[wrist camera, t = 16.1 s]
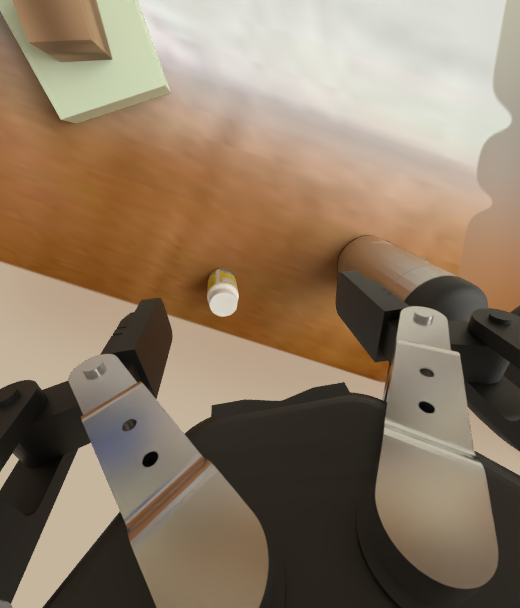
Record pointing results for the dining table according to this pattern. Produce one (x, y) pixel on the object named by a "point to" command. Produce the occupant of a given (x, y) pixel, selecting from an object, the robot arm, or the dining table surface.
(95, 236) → the dining table surface
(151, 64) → the sage block
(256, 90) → the dining table surface
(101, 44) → the walnut cube
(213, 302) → the supplement bottle
